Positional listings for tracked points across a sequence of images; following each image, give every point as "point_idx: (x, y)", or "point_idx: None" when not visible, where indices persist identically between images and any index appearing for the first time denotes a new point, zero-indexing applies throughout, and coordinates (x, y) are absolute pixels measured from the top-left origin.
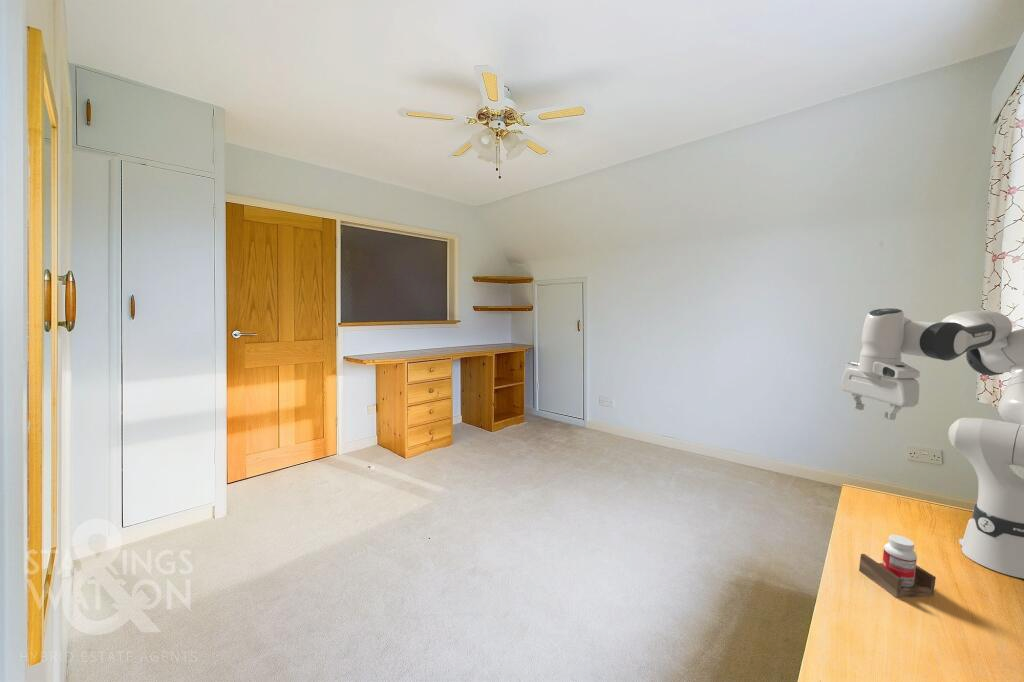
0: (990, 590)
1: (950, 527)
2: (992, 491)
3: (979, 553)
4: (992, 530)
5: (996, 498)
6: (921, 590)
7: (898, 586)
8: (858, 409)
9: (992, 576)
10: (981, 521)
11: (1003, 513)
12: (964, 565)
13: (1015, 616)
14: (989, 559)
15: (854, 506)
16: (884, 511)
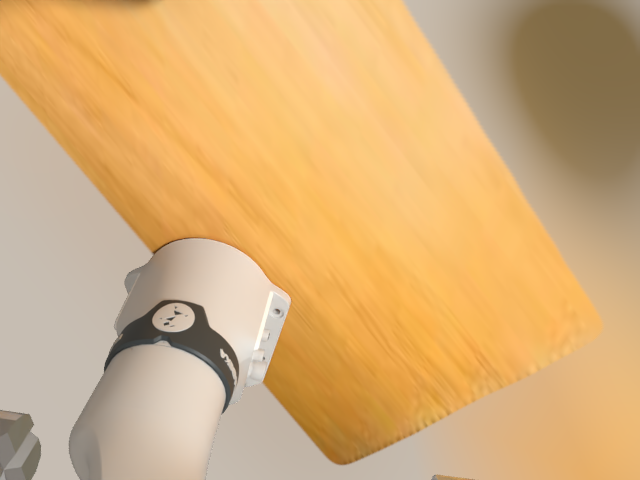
0: (107, 149)
1: (347, 344)
2: (130, 406)
3: (200, 258)
4: (159, 310)
5: (127, 390)
6: None
7: None
8: (443, 478)
9: (159, 215)
10: (182, 321)
11: (125, 359)
12: (202, 203)
13: (16, 93)
14: (181, 255)
15: (519, 231)
16: (461, 282)
